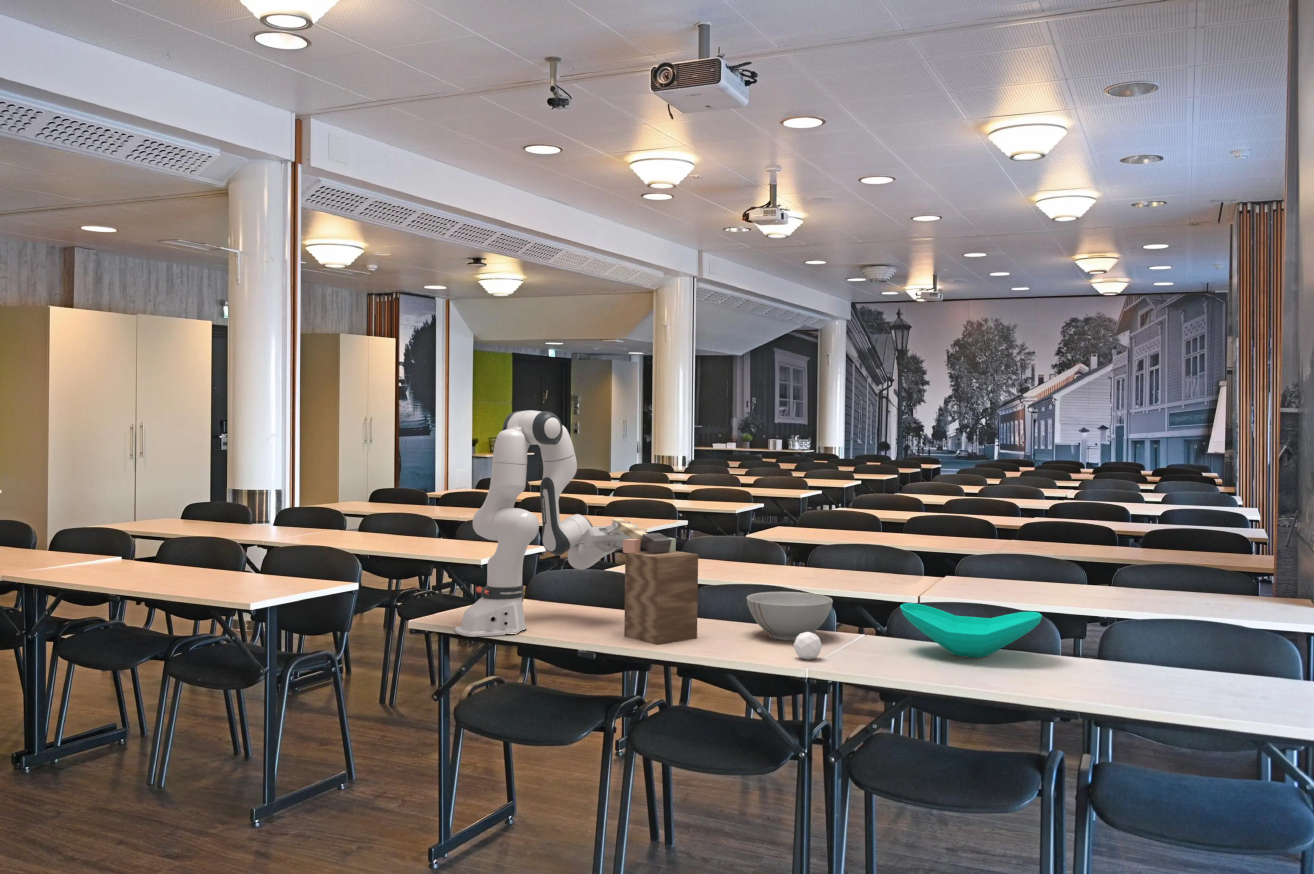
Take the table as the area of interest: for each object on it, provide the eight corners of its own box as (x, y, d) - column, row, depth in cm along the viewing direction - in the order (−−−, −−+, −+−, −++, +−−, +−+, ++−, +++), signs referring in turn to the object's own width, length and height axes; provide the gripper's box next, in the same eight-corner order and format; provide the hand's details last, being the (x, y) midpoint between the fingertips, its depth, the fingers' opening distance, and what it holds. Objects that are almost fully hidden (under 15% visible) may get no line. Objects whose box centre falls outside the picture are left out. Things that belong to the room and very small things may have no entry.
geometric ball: (811, 670, 295) (812, 651, 290) (787, 656, 299) (788, 637, 294) (826, 653, 300) (828, 634, 295) (803, 640, 304) (804, 621, 299)
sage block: (657, 550, 332) (657, 538, 332) (667, 549, 334) (667, 537, 334) (666, 552, 329) (666, 539, 329) (675, 551, 331) (675, 538, 331)
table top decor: (1042, 652, 310) (1043, 607, 310) (1040, 672, 284) (1041, 623, 284) (906, 640, 324) (906, 598, 324) (892, 658, 299) (893, 612, 299)
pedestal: (624, 636, 326) (625, 552, 326) (663, 630, 336) (664, 549, 336) (657, 644, 314) (658, 557, 314) (697, 638, 324) (698, 554, 324)
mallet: (607, 526, 340) (609, 514, 339) (623, 525, 344) (626, 513, 344) (652, 553, 323) (654, 541, 322) (669, 551, 327) (671, 539, 327)
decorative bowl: (732, 639, 323) (733, 600, 323) (765, 625, 347) (765, 589, 347) (815, 648, 311) (816, 608, 311) (843, 633, 334) (844, 595, 334)
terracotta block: (623, 552, 326) (622, 539, 326) (629, 551, 329) (629, 538, 329) (634, 553, 324) (634, 540, 324) (640, 551, 327) (640, 539, 327)
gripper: (572, 535, 343) (595, 516, 333) (622, 531, 356) (644, 513, 347) (578, 552, 340) (601, 534, 331) (627, 548, 353) (650, 531, 344)
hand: (623, 524), depth 339 cm, fingers closed on mallet, 4 cm apart
